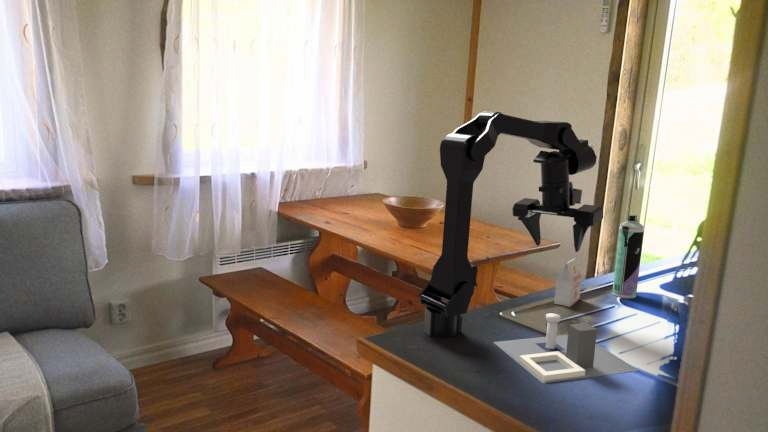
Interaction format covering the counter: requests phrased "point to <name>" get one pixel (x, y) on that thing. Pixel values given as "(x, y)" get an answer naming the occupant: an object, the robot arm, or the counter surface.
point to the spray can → (628, 258)
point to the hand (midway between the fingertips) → (557, 248)
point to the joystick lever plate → (567, 355)
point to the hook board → (602, 358)
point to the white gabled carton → (568, 284)
